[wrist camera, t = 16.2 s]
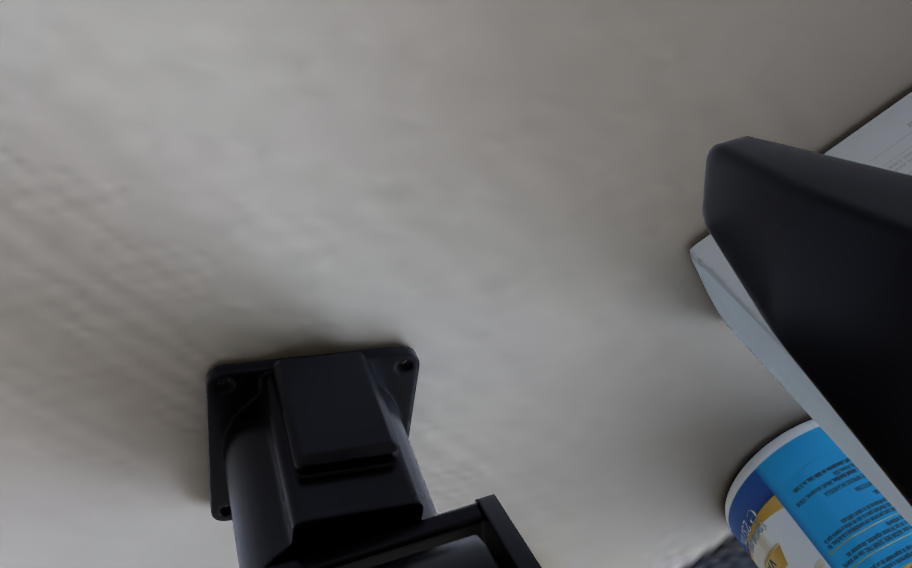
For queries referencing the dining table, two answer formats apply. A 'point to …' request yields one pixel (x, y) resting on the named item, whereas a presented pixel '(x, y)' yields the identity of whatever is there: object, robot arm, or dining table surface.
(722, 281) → the skincare box
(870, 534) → the blue lidded canister
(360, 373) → the robot arm
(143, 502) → the dining table surface
